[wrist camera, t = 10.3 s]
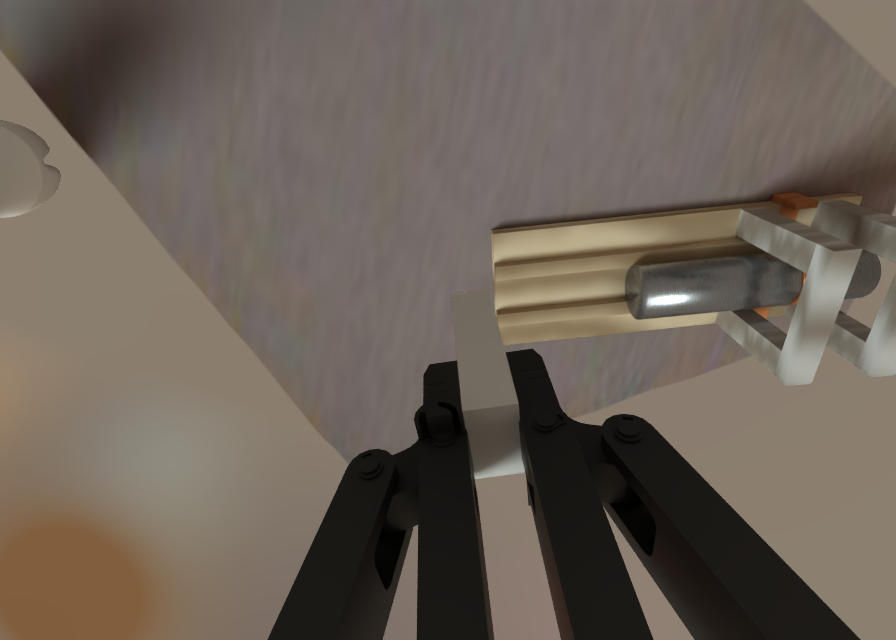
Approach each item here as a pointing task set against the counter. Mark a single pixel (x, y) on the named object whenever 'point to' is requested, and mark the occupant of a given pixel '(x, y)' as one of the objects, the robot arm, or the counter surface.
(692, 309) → the tube
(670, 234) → the rail
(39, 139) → the water bottle
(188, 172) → the counter surface
